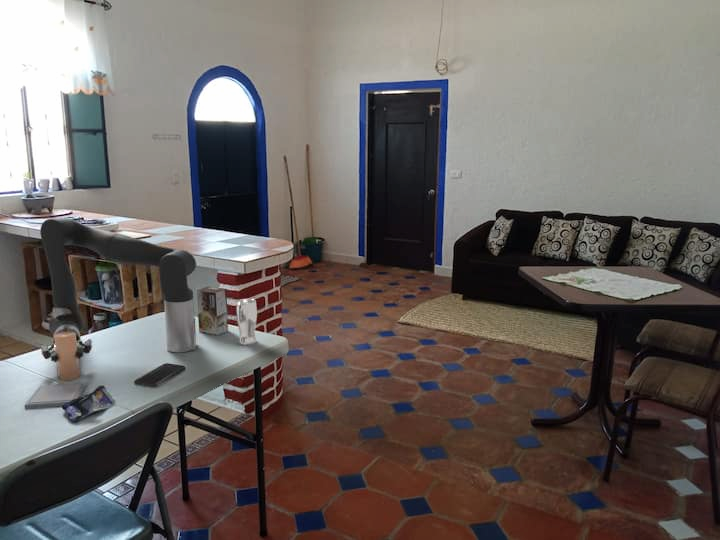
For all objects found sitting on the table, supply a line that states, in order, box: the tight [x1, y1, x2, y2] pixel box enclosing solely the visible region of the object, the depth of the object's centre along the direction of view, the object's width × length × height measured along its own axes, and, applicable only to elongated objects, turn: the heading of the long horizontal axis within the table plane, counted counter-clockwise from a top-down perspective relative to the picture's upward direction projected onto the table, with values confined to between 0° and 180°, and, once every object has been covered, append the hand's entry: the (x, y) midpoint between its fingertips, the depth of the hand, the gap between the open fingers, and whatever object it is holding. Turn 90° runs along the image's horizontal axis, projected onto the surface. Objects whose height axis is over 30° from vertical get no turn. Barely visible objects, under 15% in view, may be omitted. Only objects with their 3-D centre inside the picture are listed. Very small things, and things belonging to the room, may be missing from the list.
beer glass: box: [235, 298, 258, 346], centre depth 192 cm, size 7×7×15 cm
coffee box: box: [196, 286, 229, 336], centre depth 202 cm, size 9×6×16 cm
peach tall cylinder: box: [53, 332, 81, 382], centre depth 161 cm, size 6×6×13 cm
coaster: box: [24, 382, 88, 409], centre depth 149 cm, size 12×12×1 cm
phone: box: [133, 362, 187, 389], centre depth 164 cm, size 8×1×15 cm
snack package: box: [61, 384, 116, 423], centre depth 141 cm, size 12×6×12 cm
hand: (67, 357), depth 158 cm, fingers closed on peach tall cylinder, 5 cm apart
